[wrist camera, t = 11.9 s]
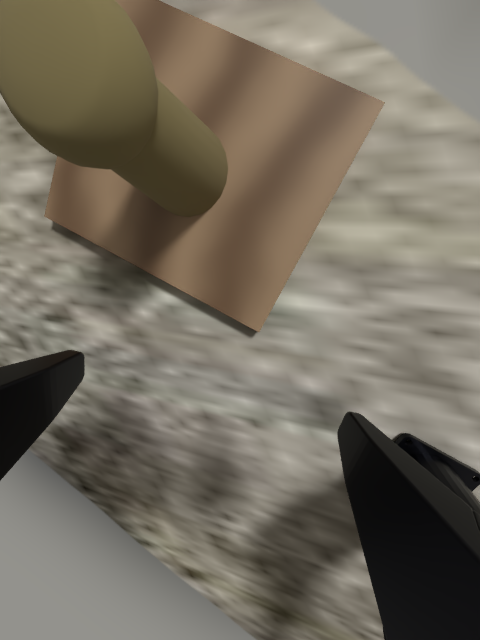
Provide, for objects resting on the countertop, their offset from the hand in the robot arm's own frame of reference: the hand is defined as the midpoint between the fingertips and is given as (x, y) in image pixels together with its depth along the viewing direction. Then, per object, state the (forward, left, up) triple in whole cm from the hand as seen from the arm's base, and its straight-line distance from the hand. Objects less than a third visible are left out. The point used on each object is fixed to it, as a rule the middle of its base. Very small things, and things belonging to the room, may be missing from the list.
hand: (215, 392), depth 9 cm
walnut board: (+9, -7, -12) cm, 17 cm away
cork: (+9, -7, -11) cm, 16 cm away
